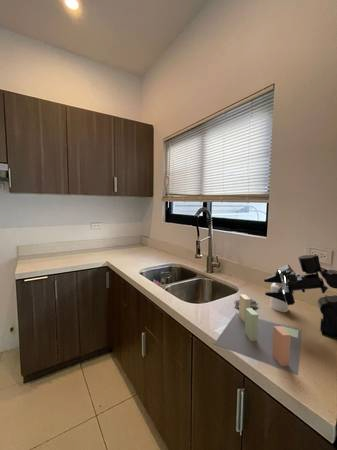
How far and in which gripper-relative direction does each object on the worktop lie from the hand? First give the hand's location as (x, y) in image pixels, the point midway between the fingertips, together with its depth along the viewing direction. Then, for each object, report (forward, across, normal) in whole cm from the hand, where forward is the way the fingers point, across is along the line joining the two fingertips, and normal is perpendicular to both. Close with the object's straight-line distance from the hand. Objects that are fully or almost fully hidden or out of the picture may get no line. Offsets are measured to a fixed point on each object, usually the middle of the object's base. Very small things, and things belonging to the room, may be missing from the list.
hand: (264, 287), depth 96 cm
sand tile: (+11, +8, +9) cm, 17 cm away
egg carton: (+12, -4, +14) cm, 19 cm away
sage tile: (+8, +20, +6) cm, 23 cm away
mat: (+5, +20, +8) cm, 22 cm away
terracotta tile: (-2, +30, +6) cm, 31 cm away
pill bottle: (-2, -8, +20) cm, 22 cm away
